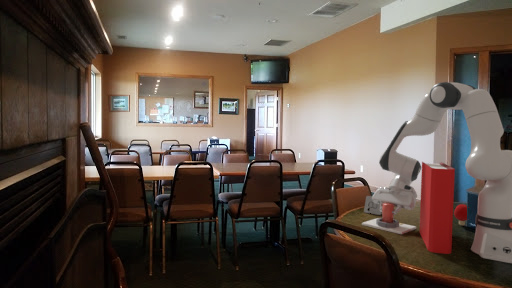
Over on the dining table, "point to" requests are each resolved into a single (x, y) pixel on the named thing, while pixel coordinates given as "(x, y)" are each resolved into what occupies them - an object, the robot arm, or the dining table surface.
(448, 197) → the book
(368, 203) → the electrical switch
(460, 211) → the red mushroom
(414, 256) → the dining table surface
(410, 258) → the dining table surface
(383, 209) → the lockout cap
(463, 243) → the dining table surface
